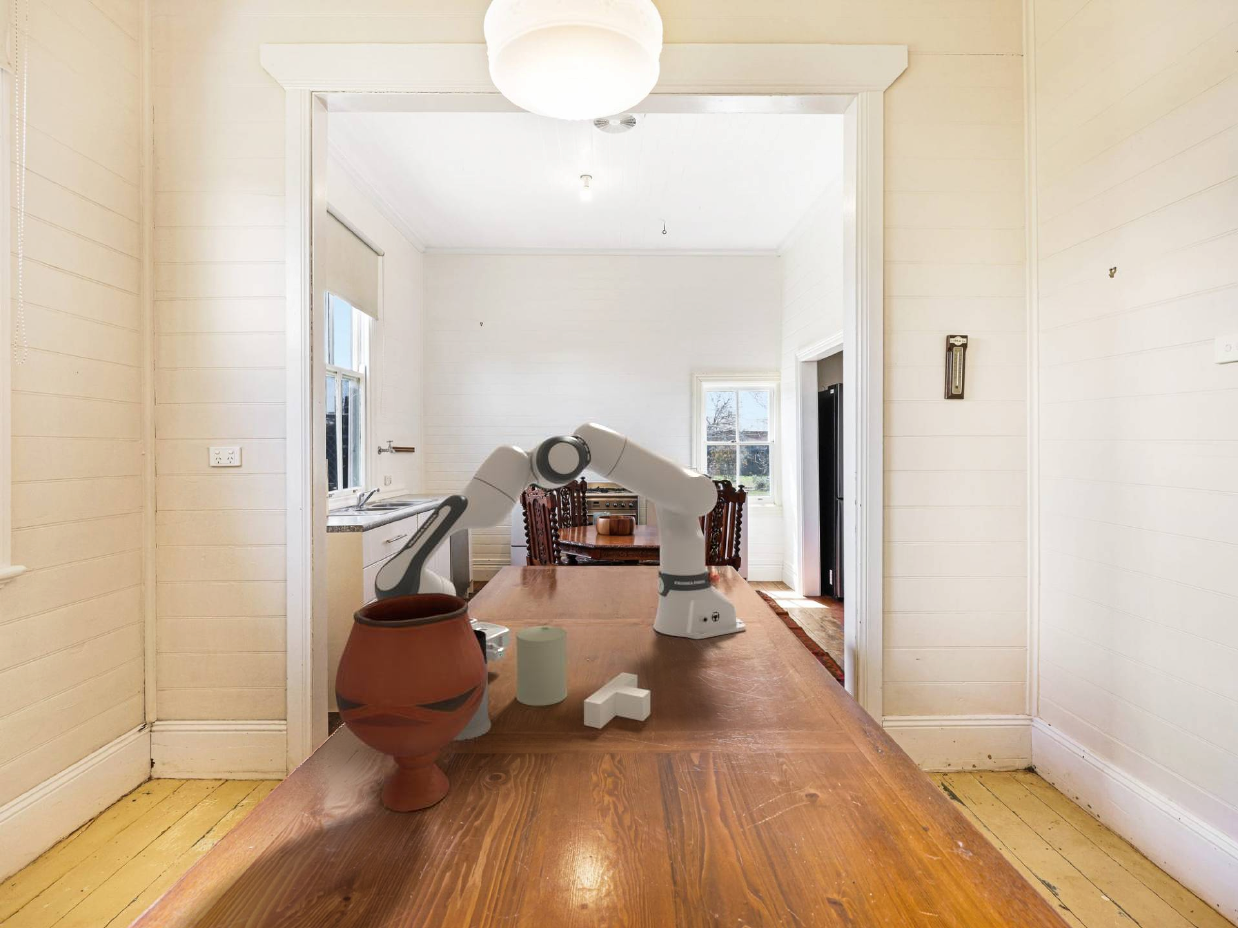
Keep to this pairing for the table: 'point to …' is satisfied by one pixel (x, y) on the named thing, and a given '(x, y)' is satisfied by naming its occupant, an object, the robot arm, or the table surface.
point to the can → (541, 665)
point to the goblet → (411, 687)
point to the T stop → (617, 702)
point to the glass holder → (480, 719)
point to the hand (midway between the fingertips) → (500, 654)
